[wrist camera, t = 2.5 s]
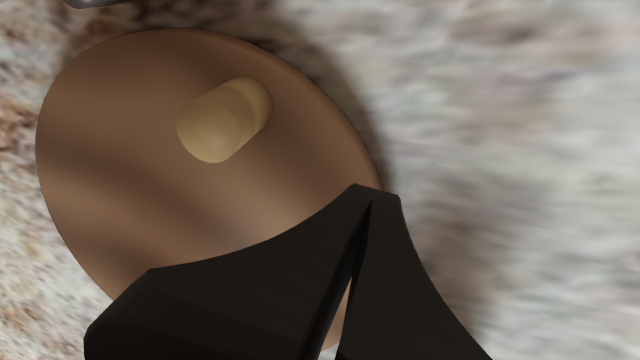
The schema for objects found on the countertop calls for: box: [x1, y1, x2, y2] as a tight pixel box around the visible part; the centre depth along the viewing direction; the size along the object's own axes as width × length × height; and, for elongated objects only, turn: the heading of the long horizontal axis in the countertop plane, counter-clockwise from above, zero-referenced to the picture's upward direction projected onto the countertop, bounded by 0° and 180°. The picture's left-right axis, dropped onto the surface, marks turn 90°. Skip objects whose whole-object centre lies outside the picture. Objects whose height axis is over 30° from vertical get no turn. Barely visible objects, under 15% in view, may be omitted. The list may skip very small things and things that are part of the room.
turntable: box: [35, 28, 383, 352], centre depth 21 cm, size 20×20×5 cm
